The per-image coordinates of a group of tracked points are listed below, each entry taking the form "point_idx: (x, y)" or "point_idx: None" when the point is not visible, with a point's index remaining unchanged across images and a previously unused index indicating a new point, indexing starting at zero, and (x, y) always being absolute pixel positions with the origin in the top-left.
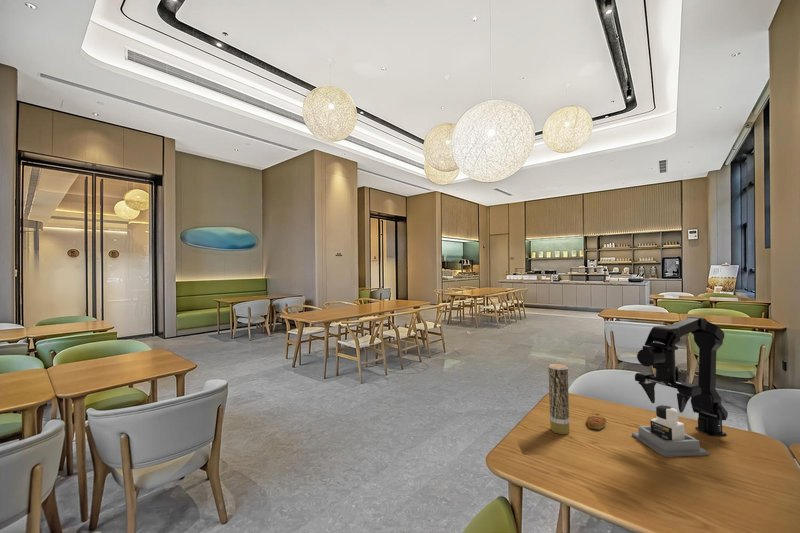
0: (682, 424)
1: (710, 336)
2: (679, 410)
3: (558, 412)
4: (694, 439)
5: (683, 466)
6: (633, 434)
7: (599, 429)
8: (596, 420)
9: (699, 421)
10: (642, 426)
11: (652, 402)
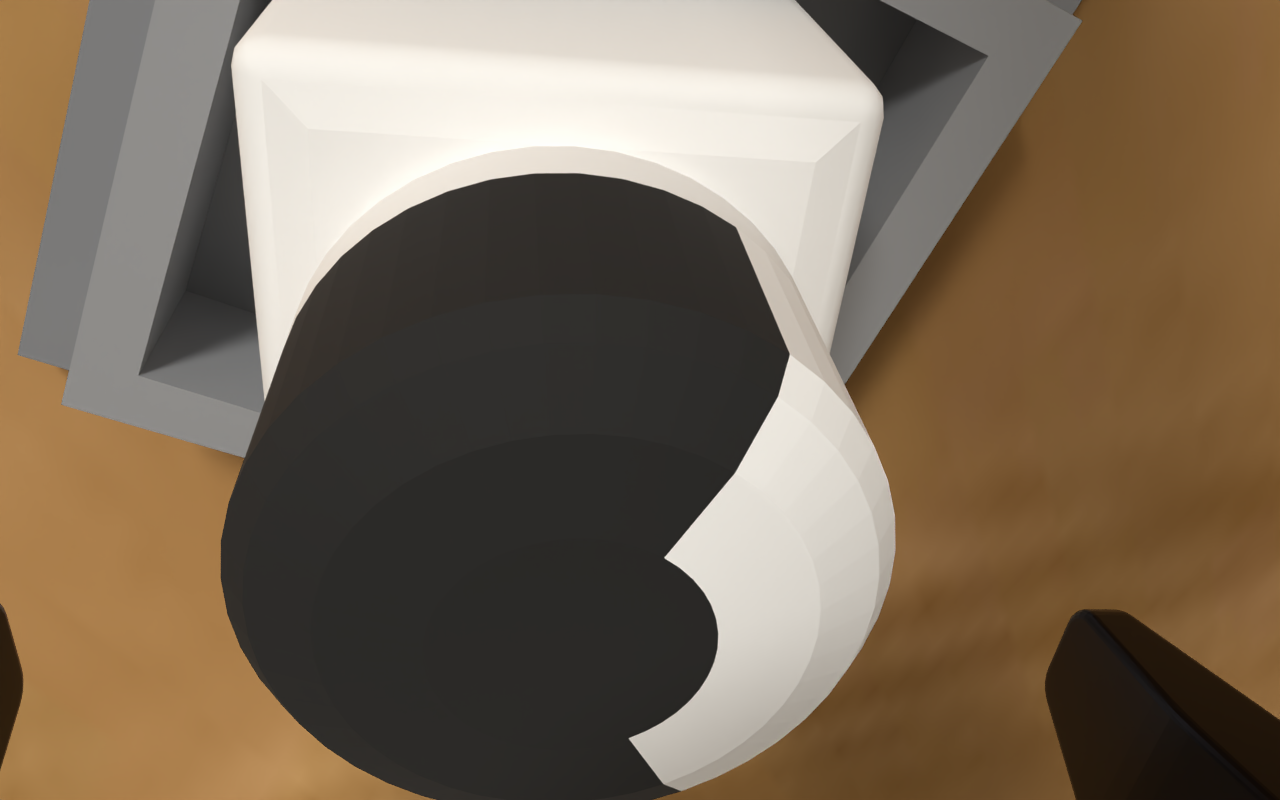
0: (862, 184)
1: None
2: (1075, 763)
3: None
4: (998, 43)
5: (940, 550)
6: (67, 361)
7: None
8: None
9: None
10: (97, 350)
11: (10, 725)
